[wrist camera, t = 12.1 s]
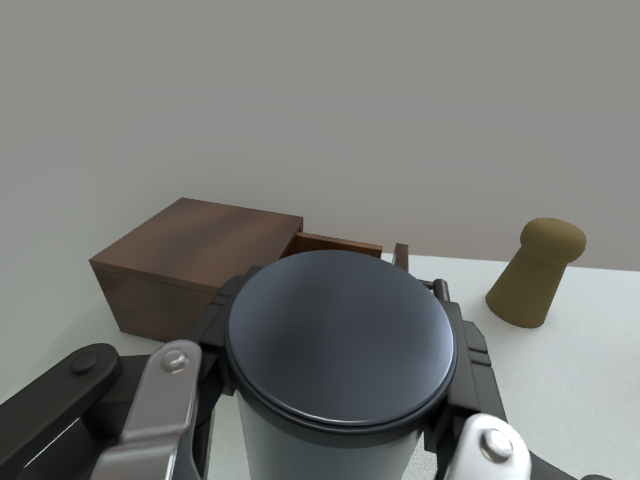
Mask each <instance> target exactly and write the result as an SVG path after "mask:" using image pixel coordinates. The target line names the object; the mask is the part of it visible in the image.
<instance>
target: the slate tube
mask: <svg viewBox="0 0 640 480" xmlns="http://www.w3.org/2000/svg"><path fill="white" fill-rule="evenodd" d="M224 346H225V352H226V358H227V362H228V366H229V370H230V374H231V376H232V378H233V381H234V383H235V385H236V390H237V396H238V402H239V409H240V415H241V421H242V427H243V433H244V439H245V445H246V452H247V458H248V464H249V470H250V476H251V480H401V477H402V475H403V473H404V471H405V469H406V467H407V465H408V462H409V460H410V458H411V456H412V454H413V452H414V449H415V447H416V445H417V443H418V441H419V439H420V437H421V434H422V432H423V430H424V428H425V426H426V424H427V422H428V420H429V418H430V417H431V416H432V415H433V414H434V413H435V411H436V410H437V409H438V408H439V406H440V404H441V403H442V401H443V399H444V397H445V396H446V394H447V392H448V389H449V387H450V385H451V383H452V380H453V378H454V375H455V372H456V367H457V361H458V344H457V339H456V334H455V330H454V327H453V325H452V322H451V319H450V318H449V316H448V314H447V312H446V310H445V309H444V307H443V306H442V304H441V303H440V302H439V300H438V299H437V298H436V297H435V296H434V294H433V293H432V292H431V291H430V290H429V289H428V288H427V287H426V286H424V285H423V284H422V283H421V282H420V281H419V280H417V279H416V278H415V277H413V276H412V275H411V274H409V273H407V272H406V271H404V270H403V269H401V268H399V267H397V266H395V265H393V264H391V263H389V262H386V261H384V260H381V259H379V258H375V257H372V256H369V255H365V254H361V253H356V252H350V251H340V250H319V251H310V252H303V253H299V254H295V255H291V256H288V257H285V258H282V259H280V260H278V261H275V262H273V263H272V264H270V265H268V266H266V267H264V268H263V269H261V270H260V271H258V272H257V273H255V274H254V275H253V276H252V277H251V278H249V279H248V280H247V281H246V282H245V283H244V284H243V286H242V287H241V288H240V289H239V290H238V292H237V293H236V295H235V296H234V298H233V300H232V302H231V304H230V306H229V308H228V311H227V315H226V318H225V324H224Z"/></svg>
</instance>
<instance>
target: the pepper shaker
mask: <svg viewBox="0 0 640 480" xmlns="http://www.w3.org/2000/svg"><path fill="white" fill-rule="evenodd" d="M520 242H521V245H522V246H521V248H520V249H519V250H518V252H517V253H516V255H515V256H514V257H513V259H512V260H511V262H510V263H509V264H508V266H507V267H506V269H505V270H504V271H503V273H502V274H501V276H500V277H499V278H498V280H497V281H496V283H495V284H494V285H493V287H492V288H491V290H490V291H489V292H488V294H487V296H486V303H487V304H488V306H489V308H490V309H491V310H492V311H493V312H494V313H495V314H496V315H497V316H499V317H500V318H502V319H503V320H505V321H507V322H509V323H511V324H513V325H517V326H520V327H525V328H535V327H539V326H540V325H542V324H543V323H544V320H545V318H546V315H547V313H548V310H549V308H550V305H551V303H552V300H553V298H554V295H555V293H556V290H557V288H558V285H559V283H560V281H561V278H562V276H563V273H564V271H565V268H566V266H567V263H570V262H573V261H574V260H576V259H577V258H578V257H579V256H581V254H582V253H583V252H584V250H585V246H586V236H585V235H584V233H583V232H582V231H581V230H580V229H579V228H577V227H576V226H574V225H572V224H570V223H568V222H565V221H562V220H558V219H554V218H536V219H534V220H532V221H530V222H529V223H528V224H527V225H526V226H525V227H524V229H523V231H522V233H521V236H520Z"/></svg>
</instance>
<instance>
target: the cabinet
mask: <svg viewBox="0 0 640 480" xmlns="http://www.w3.org/2000/svg"><path fill="white" fill-rule="evenodd" d="M298 232H303V217H299V216H293V215H287V214H281V213H275V212H268V211H262V210H256V209H249V208H243V207H238V206H231V205H225V204H219V203H213V202H206V201H200V200H194V199H188V198H180V199H179V200H177V201H176V202H174V203H173V204H171V205H170V206H169V207H167V208H165V209H164V210H162V211H161V212H159V213H158V214H156V215H155V216H153V217H152V218H150V219H149V220H148V221H146V222H144V223H143V224H142V225H140V226H139V227H137V228H136V229H134V230H133V231H131V232H130V233H128V234H127V235H125V236H124V237H122V238H121V239H119V240H118V241H116V242H115V243H113V244H112V245H110V246H109V247H107V248H106V249H104V250H103V251H101V252H100V253H98V254H97V255H95V256H94V257H92V258H91V259H89V262H90V264H91V267H92V269H93V271H94V273H95V275H96V277H97V280H98V282H99V284H100V286H101V288H102V291H103V293H104V295H105V297H106V300H107V302H108V304H109V306H110V308H111V311H112V313H113V315H114V317H115V320H116V322H117V324H118V325H119V328H120V330H121V331H123V332H127V333H131V334H135V335H139V336H143V337H147V338H151V339H155V340H159V341H163V342H167V343H169V342H171V341H175V340H181V338H182V337H183V336H184V335H185V334H186V332H187V331H188V330H189V328H190V327H191V326H192V325H193V323H194V322H195V321H196V319H197V318H198V317H199V315H200V314H201V313H202V312H203V310H204V309H205V308H206V306H207V305H208V304H210V301H211V300H212V299H213V297H214V296H215V295H217V292H218V291H219V290H220V288H221V287H222V286H223V285H224V283H225V282H227V281H228V280H230V279H231V278H233V277H234V276H236V275H237V274H238V275H243V276H245V274H246V273H247V272H248V270H249V269H250V267H251V266H252V265H253V264H261V265H266V266H268V265H270V264H272V263H273V262H275V261H278V260H280V259H282V258H283V257H284V255H285V254H286V252H287V250H288V248H289V247H290V245H291V243H292V242H293V240H294V238H295V236H296V235H297V233H298Z"/></svg>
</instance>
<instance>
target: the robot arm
mask: <svg viewBox="0 0 640 480" xmlns="http://www.w3.org/2000/svg"><path fill="white" fill-rule="evenodd" d="M264 267H266V265H261V264H253V265H252V266H251V267H250V269H249V270H248V272H247V273H246V274H245V276H243V275H238V274H237V275H236V276H234V277H233V278H231V279H230V280H228V281H227V282H225V283H224V285H223V286H222V287H221V288H220V290H219V291H218V292H217V295H215V296H214V297H213V299H212V300H211V301H210V304H208V305H207V306H206V308H205V309H204V310H203V312H202V313H201V314H200V315H199V317H198V318H197V319H196V321H195V322H194V323H193V325H192V326H191V327H190V328H189V330H188V331H187V332H186V334H185V335H184V336H183V337H182V338H181V340H175V341H171V342H169V343H166V344H164V345H163V346H161V347H159V348H158V349H157V350H156V351H155V352H153V354H150V355H136V356H120V357H119V355H118V353H117V351H116V349H115V348H114V347H113V346H112V345H109V344H105V343H98V344H92V345H88V346H85V347H83V348H80V349H78V350H76V351H75V352H73V353H71V354H70V355H68V356H67V357H66V358H64V359H63V360H62V361H60V362H59V363H57V364H56V365H55V366H53V367H52V368H51V369H49V370H48V371H46V372H45V373H44V374H42V375H41V376H40V377H38V378H37V379H35V380H34V381H33V382H31V383H30V384H29V385H27V386H26V387H25V388H23V389H22V390H20V391H19V392H18V393H16V394H15V395H14V396H12V397H11V398H9V399H8V400H7V401H5V402H4V403H3V404H1V405H0V480H207V475H208V467H209V459H210V450H211V442H212V434H213V425H214V417H215V405H216V403H217V401H218V399H219V397H220V395H221V394H225V395H228V396H233V394H234V392H235V390H236V385H235V383H234V381H233V378H232V376H231V374H230V370H229V366H228V362H227V358H226V352H225V346H224V324H225V318H226V315H227V311H228V308H229V306H230V304H231V302H232V300H233V298H234V296H235V295H236V293H237V292H238V290H239V289H240V288H241V287H242V286H243V284H244V283H245V282H246V281H247V280H248V279H249V278H251V277H252V276H253V275H254V274H255V273H257V272H258V271H260V270H261V269H263V268H264ZM438 300H439V302H440V303H441V304H442V306H443V307H444V309H445V310H446V312H447V314H448V316H449V318H450V319H451V322H452V325H453V327H454V330H455V334H456V339H457V344H458V361H457V367H456V372H455V375H454V378H453V380H452V383H451V385H450V387H449V389H448V392H447V394H446V396H445V397H444V399H443V401H442V403H441V404H440V406H439V408H438V409H437V410H436V411H435V413H434V414H433V415H432V416H431V417H430V418H429V420H428V422H427V424H426V426H425V428H424V450H425V451H429V452H432V453H436V455H437V468H438V469H437V471H436V473H435V475H434V477H433V480H577V479H576V478H574V477H572V476H570V475H568V474H567V473H565V472H563V471H561V470H560V469H558V468H556V467H554V466H553V465H551V464H549V463H547V462H545V461H544V460H542V459H540V458H539V457H537V456H536V455H535V454H533V453H532V452H531V451H530V450H528V448H527V446H526V444H525V443H524V441H523V439H522V438H521V437H520V435H519V434H518V433H517V432H516V431H515V430H514V429H513V428H512V427H511V426H510V425H509V424H508V422H507V419H506V416H505V412H504V408H503V405H502V401H501V397H500V394H499V390H498V386H497V383H496V379H495V375H494V372H493V368H491V365H492V364H491V361H490V357H489V355H488V350H487V346H486V343H485V339H484V336H483V335H482V334H481V332H480V331H479V329H478V328H477V327H476V325H475V324H474V323H473V322H468V321H463V320H462V317H461V312H460V307H459V304H458V303H455V302H450V301H445V300H440V299H438ZM77 418H79V419H78V420H77V421H76V422H75V423H74V424H73V425H72V426H71V427H70V428H68V429H67V430H66V431H65V432H64V433H63V434H62V435H61V436H60V437H59V438H57V439H56V440H55V441H54V442H53V443H52V444H51V445H50V446H49V447H47V448H46V449H45V450H44V451H43V452H42V453H41V454H40V455H39V456H38V457H36V458H35V459H34V460H33V461H32V462H31V463H30V464H29V465H27V463H29V462H30V461H31V460H32V459H33V458H34V457H35V456H36V455H37V454H38V453H39V452H41V451H42V450H43V449H44V448H45V447H46V446H47V445H48V444H49V443H51V442H52V441H53V440H54V439H55V438H56V437H57V436H58V435H59V434H61V433H62V432H63V431H64V430H65V429H66V428H67V427H68V426H69V425H71V424H72V423H73V422H74V421H75V420H76V419H77ZM26 465H27V466H26ZM25 466H26V467H25ZM24 467H25V468H24ZM23 468H24V469H23ZM581 480H612V479H609V478H607V477H604V476H601V475H587V476H585V477H583V478H582V479H581Z"/></svg>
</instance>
